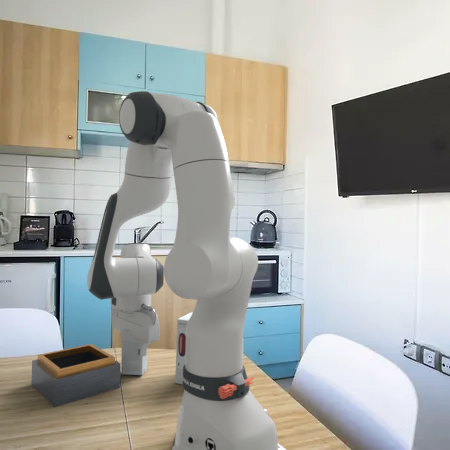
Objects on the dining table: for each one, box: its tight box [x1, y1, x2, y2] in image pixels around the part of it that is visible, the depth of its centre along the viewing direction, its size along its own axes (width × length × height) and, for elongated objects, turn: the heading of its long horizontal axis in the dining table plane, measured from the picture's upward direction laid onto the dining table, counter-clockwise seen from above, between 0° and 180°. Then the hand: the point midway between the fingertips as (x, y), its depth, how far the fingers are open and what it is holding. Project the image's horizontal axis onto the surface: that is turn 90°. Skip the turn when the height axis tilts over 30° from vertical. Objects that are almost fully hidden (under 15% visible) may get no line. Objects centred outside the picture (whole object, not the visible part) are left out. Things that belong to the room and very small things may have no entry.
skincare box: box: [120, 329, 148, 376], centre depth 104 cm, size 6×4×12 cm
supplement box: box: [174, 311, 193, 385], centre depth 101 cm, size 10×9×17 cm
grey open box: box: [31, 343, 121, 408], centre depth 97 cm, size 19×16×8 cm
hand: (134, 351), depth 104 cm, fingers closed on skincare box, 7 cm apart
